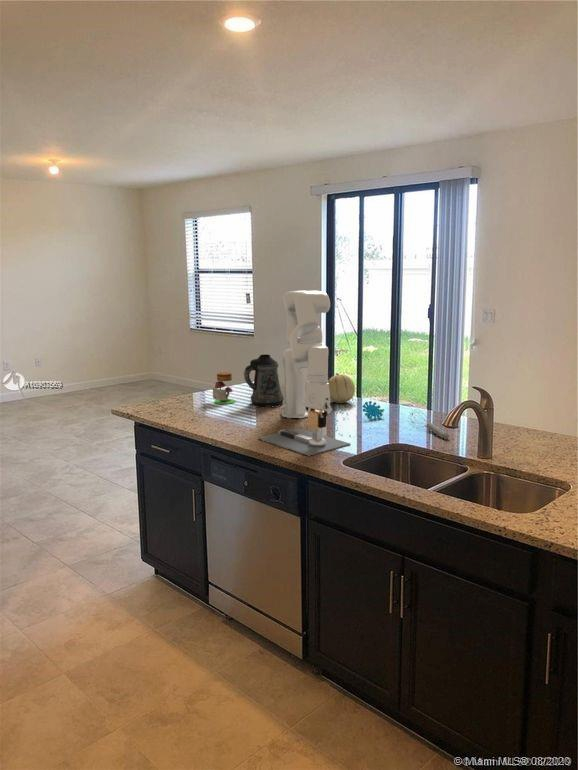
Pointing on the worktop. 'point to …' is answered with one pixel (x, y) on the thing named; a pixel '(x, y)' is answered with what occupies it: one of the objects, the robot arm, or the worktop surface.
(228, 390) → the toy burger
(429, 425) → the kitchen whisk
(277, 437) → the mat
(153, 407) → the worktop surface
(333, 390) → the cantaloupe
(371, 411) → the teal virus model
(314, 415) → the wooden block
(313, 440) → the ratchet
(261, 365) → the beer stein
